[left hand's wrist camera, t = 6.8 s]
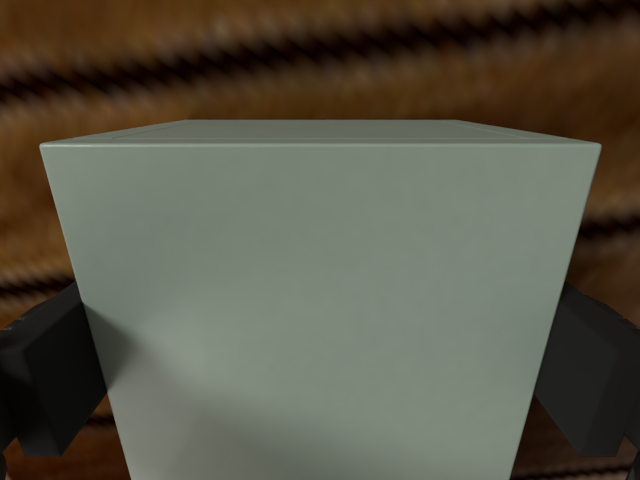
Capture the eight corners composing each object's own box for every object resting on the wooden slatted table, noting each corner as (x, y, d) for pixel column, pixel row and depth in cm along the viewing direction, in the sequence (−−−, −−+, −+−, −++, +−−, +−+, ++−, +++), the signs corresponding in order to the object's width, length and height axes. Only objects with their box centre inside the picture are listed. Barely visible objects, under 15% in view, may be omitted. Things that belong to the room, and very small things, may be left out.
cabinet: (417, 419, 20) (474, 609, 13) (223, 418, 20) (165, 608, 13) (456, 119, 14) (604, 143, 7) (184, 119, 15) (35, 143, 7)
